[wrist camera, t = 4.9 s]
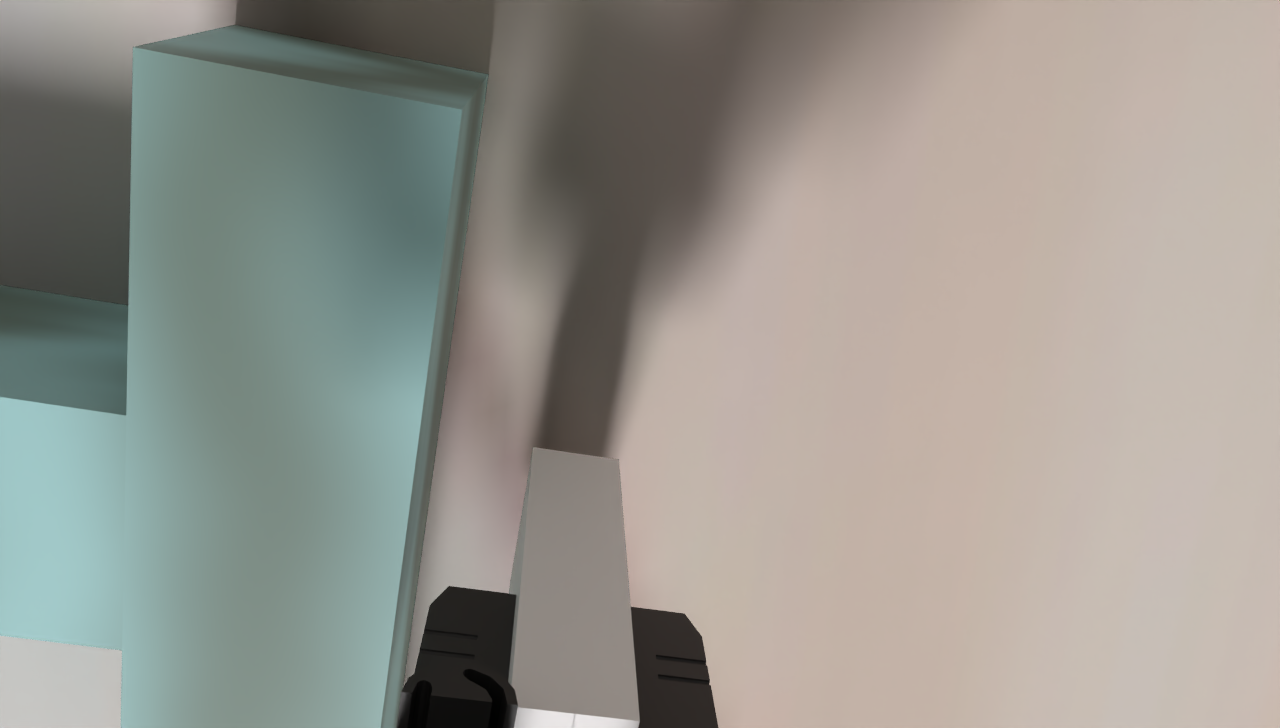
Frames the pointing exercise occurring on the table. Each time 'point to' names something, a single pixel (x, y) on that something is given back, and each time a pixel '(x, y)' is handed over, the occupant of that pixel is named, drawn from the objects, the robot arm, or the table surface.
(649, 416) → the table surface
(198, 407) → the t block
